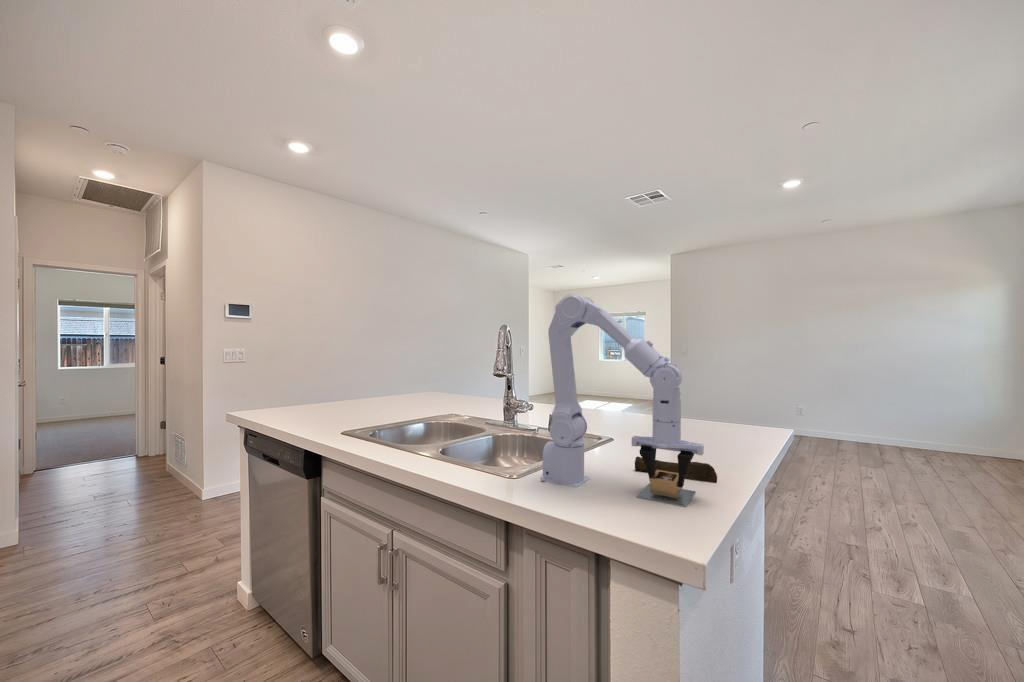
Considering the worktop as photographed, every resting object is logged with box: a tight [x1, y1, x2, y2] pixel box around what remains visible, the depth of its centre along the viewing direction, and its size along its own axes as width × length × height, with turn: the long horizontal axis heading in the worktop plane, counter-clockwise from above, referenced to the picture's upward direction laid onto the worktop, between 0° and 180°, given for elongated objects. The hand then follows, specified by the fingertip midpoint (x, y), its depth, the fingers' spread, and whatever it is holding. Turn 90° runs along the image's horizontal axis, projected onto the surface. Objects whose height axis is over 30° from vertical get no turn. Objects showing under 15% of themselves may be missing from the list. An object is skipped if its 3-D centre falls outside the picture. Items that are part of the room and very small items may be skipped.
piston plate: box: [635, 476, 696, 508], centre depth 92 cm, size 10×10×4 cm
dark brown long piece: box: [634, 456, 718, 484], centre depth 105 cm, size 19×4×5 cm, turn 56°
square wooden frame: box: [649, 470, 683, 498], centre depth 92 cm, size 5×5×3 cm
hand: (666, 483), depth 92 cm, fingers closed on square wooden frame, 5 cm apart
